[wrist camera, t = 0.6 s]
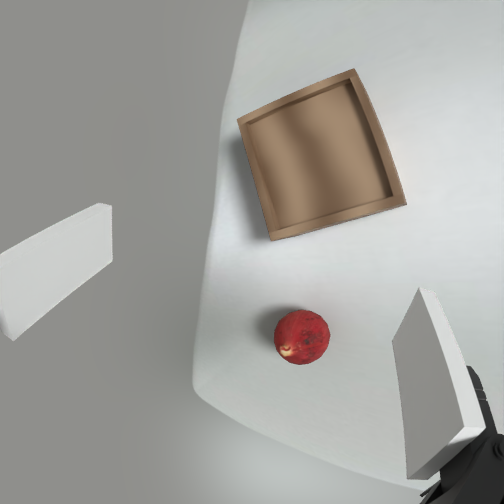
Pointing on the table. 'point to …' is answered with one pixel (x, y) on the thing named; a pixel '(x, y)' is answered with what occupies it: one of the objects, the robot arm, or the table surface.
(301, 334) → the onion
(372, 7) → the table surface
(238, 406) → the table surface
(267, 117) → the walnut tray
